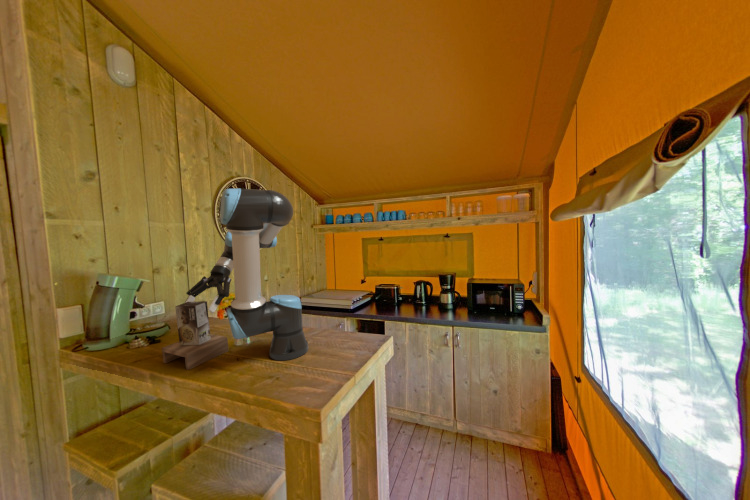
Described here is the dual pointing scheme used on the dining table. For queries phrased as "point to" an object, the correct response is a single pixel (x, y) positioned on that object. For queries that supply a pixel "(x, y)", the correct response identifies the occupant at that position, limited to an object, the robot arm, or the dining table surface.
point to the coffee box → (193, 323)
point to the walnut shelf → (196, 351)
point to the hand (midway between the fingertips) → (197, 310)
